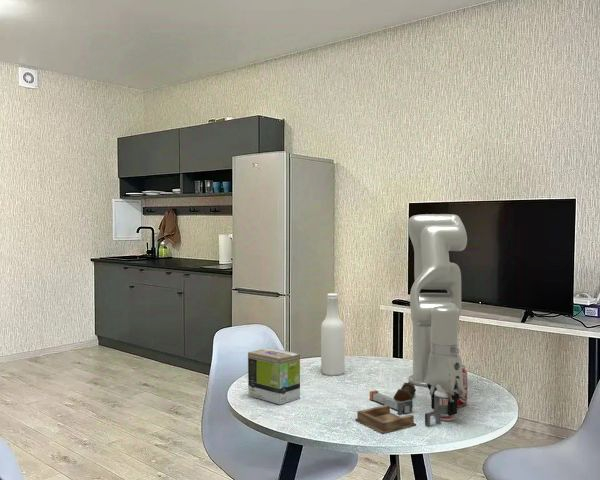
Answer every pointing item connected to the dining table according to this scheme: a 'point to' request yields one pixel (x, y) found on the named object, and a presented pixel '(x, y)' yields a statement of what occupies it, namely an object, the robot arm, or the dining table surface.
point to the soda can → (463, 399)
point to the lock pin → (388, 401)
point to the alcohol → (332, 339)
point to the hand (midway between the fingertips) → (444, 410)
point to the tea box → (274, 375)
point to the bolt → (405, 392)
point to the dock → (384, 419)
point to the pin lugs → (427, 415)
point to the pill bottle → (442, 403)
